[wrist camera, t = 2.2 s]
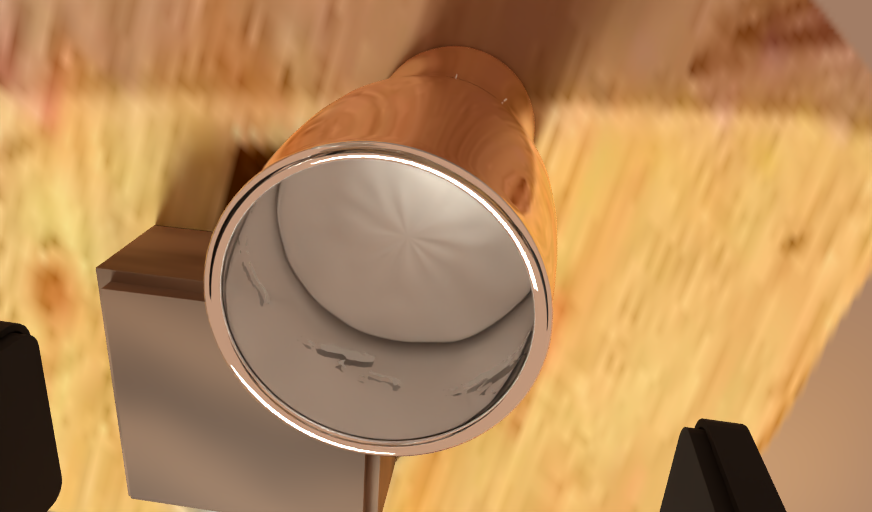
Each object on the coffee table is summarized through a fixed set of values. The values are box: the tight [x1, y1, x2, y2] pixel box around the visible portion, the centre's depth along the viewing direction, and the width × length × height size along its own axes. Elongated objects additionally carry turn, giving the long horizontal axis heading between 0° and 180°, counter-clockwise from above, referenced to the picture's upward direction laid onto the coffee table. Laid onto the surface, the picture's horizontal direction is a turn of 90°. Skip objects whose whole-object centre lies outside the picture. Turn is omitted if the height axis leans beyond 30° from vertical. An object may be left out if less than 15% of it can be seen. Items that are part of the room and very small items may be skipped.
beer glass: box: [204, 46, 557, 456], centre depth 20 cm, size 7×7×15 cm
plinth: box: [96, 225, 395, 512], centre depth 29 cm, size 11×11×5 cm
